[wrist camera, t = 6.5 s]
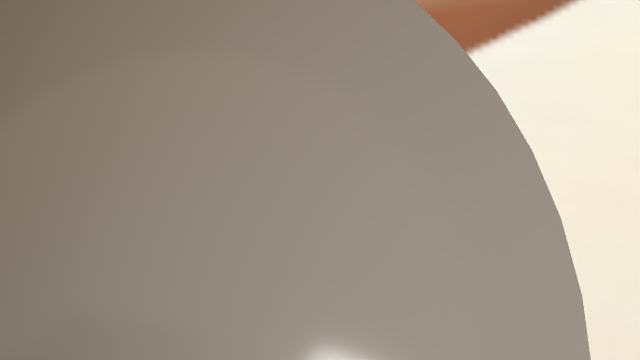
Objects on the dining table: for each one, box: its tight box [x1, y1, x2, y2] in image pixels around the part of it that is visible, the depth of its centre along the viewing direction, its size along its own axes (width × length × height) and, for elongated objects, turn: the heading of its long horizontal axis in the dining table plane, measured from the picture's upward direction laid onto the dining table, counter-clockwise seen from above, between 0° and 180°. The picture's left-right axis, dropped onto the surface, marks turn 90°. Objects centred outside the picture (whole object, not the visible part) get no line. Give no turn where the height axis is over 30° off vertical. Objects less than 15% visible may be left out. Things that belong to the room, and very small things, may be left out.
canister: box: [0, 0, 591, 360], centre depth 9 cm, size 5×5×13 cm
